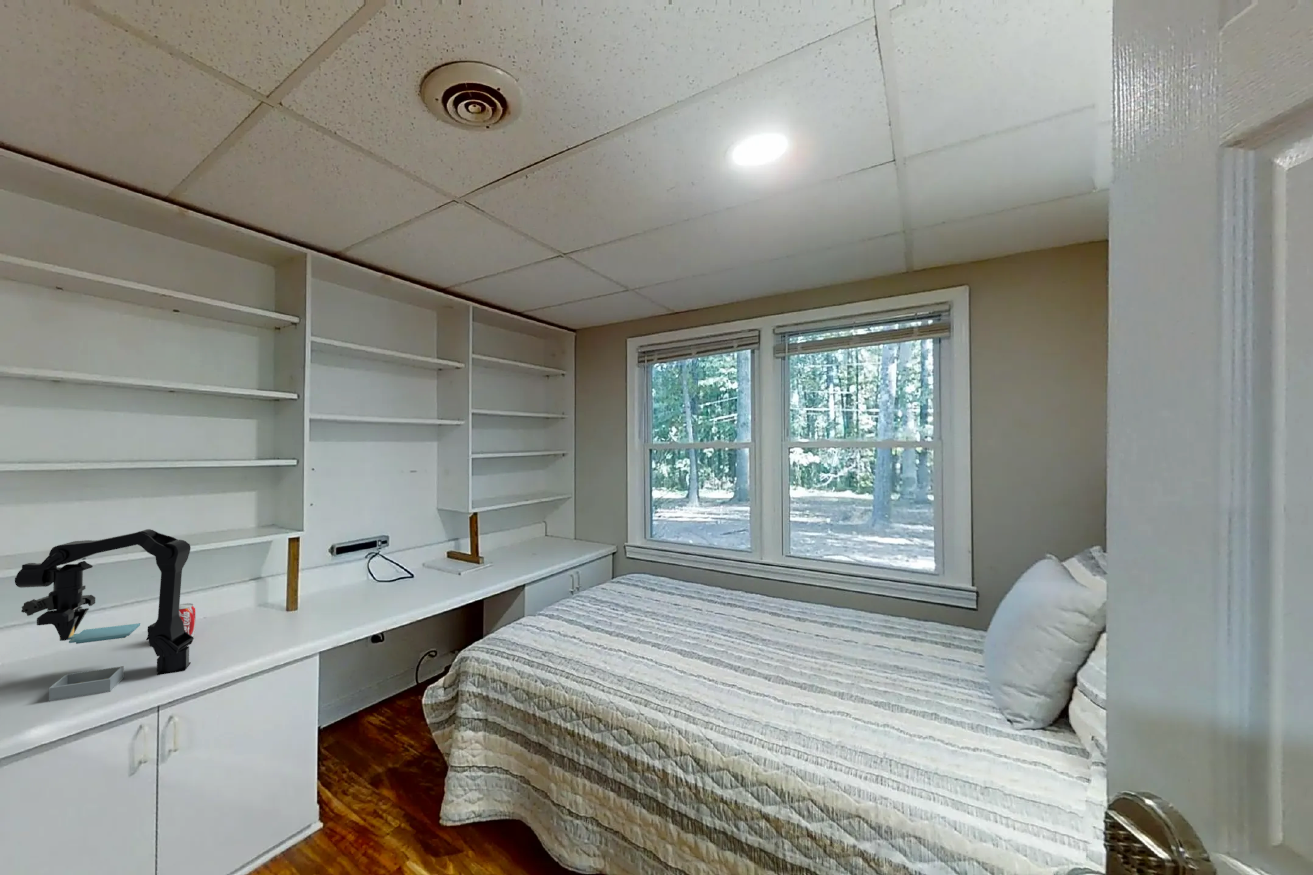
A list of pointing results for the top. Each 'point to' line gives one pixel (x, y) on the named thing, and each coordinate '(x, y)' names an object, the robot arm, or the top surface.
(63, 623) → the robot arm
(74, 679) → the tub
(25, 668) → the top surface
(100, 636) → the lid
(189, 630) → the soda can
